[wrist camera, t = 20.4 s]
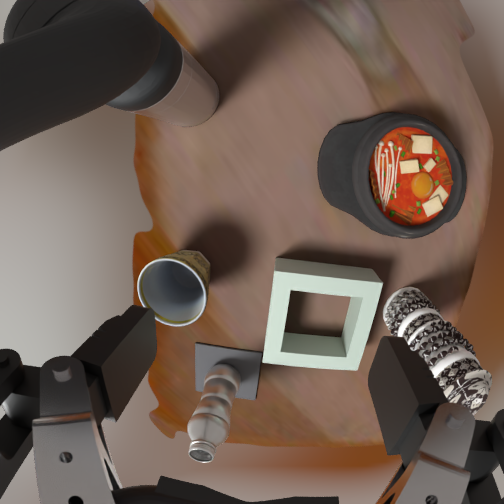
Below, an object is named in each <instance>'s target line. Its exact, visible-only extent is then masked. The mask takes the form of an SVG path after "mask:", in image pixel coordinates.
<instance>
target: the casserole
mask: <svg viewBox="0 0 504 504" xmlns="http://www.w3.org/2000/svg"><path fill="white" fill-rule="evenodd" d="M318 180H319V185H320V189H321V191H322V193H323V196H324V198H325V199H326V200H327V201H328V202H329V203H330V205H332V206H334V207H336V208H338V209H340V210H342V211H345V212H347V213H349V214H351V215H353V216H354V217H355V218H357V219H358V220H359V221H361V222H362V223H363V224H365V225H366V226H367V227H369V228H370V229H371V230H374V231H376V232H378V233H380V234H383V235H388V236H394V237H399V238H418V237H423V236H425V235H428V234H430V233H432V232H434V231H435V230H437V229H438V228H439V227H441V226H442V225H443V224H444V223H447V222H450V221H451V220H452V219H453V218H454V217H456V215H457V213H458V212H459V210H460V208H461V206H462V203H463V200H464V196H465V191H466V169H465V164H464V161H463V158H462V156H461V154H460V153H459V151H458V150H457V149H456V148H454V146H453V144H452V143H451V141H450V140H449V139H448V137H447V136H446V135H445V133H444V132H443V131H442V130H441V129H440V128H439V127H437V126H436V125H435V124H434V123H432V122H430V121H429V120H427V119H425V118H422V117H420V116H417V115H412V114H404V113H395V112H390V113H382V114H379V115H376V116H373V117H370V118H367V119H365V120H362V121H357V122H351V123H345V124H340V125H337V126H335V127H334V128H333V129H331V130H330V131H329V132H328V134H327V135H326V137H325V138H324V141H323V143H322V146H321V148H320V152H319V157H318Z"/></svg>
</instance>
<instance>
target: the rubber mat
mask: <svg viewBox="0 0 504 504" xmlns="http://www.w3.org/2000/svg"><path fill="white" fill-rule="evenodd" d="M261 356H262V352H256V351H249V350H241V349H234V348H228V347H221V346H215V345H209V344H203V343H197V342H196V343H195V371H196V391H200V392H203V389H204V380H205V376H206V374H207V372H208V371H209V370H210V368H212V367H213V366H215V365H218V364H228V365H231V366H233V367H234V368H235V369H236V370H237V371H238V372H239V374H240V378H241V385H240V388H239V390H238V392H237V394H236V396H235V397H236V398H243V399H250V400H255V398H256V391H257V384H258V377H259V370H260V363H261Z"/></svg>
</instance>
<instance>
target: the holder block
mask: <svg viewBox="0 0 504 504" xmlns="http://www.w3.org/2000/svg"><path fill="white" fill-rule="evenodd" d="M382 285H383V282H382V281H381V280H380V278H379V277H378V276H377V274H376V273H375V272H374V270H373V269H370V268H361V267H352V266H344V265H335V264H327V263H318V262H310V261H302V260H293V259H285V258H276V261H275V269H274V277H273V285H272V293H271V300H270V308H269V316H268V323H267V330H266V338H265V345H264V353H263V361H262V363H269V364H278V365H288V366H298V367H310V368H323V369H339V370H357V369H358V366H359V363H360V360H361V358H362V354H363V351H364V348H365V345H366V342H367V339H368V336H369V332H370V329H371V326H372V322H373V319H374V315H375V312H376V308H377V304H378V301H379V297H380V293H381V289H382ZM291 290H294V291H303V292H312V293H322V294H331V295H341V296H351V300H350V304H349V308H348V312H347V316H346V320H345V324H344V328H343V332H342V336H341V337H329V336H317V335H306V334H297V333H287V332H284V328H285V322H286V316H287V310H288V303H289V297H290V291H291Z"/></svg>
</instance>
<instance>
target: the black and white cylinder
mask: <svg viewBox="0 0 504 504" xmlns="http://www.w3.org/2000/svg"><path fill="white" fill-rule="evenodd" d="M383 318H384V321H385V324H386V325H387V326H388V330H391V329H392V330H391V333H390V334H391V335H394V336H395V337H404V338H405V340H406V341H407V343H408V345H409V346H410V348H411V350H412V351H416V352H417V353H418V354H419V355H420V356H422V357H423V358H424V359H425V361H426V363H427V364H428V366H429V368H430V370H431V371H432V373H433V375H434V378H436V380H437V381H438V383H439V385H440V387H441V389H442V390H443V392H444V394H445V396H446V398H447V399H448V401H449V402H452V403H458V404H461V405H463V406H465V407H466V408H467V409H469V410H470V411H471V413H472V414H473V415H474V414H475V413H476V412H477V411H478V410H480V409H481V407H482V406H483V404H484V403H485V402H486V399H487V397H488V394H489V390H490V387H491V384H492V377H491V374H490V373H489V372H488V371H486V370H483V369H482V367H481V366H480V363H479V361H478V360H477V359H476V357H475V355H476V354H475V352H474V351H473V345H471V344H468V340H467V339H463V335H462V334H461V333H460V332H459V331H456V328H455V327H453V326H452V325H451V323H450V322H448V321H444V320H443V318H442V316H441V315H440V311H439V310H438V309H436V306H435V305H432V302H431V300H429V299H428V297H427V296H425V295H424V294H423V292H421V291H420V290H419V289H418V288H414V287H405V288H401V289H399V290H397V291H396V292H394V293H393V294H392V295H391V296H390V297H389V298H388V299H387V301H386V303H385V306H384V308H383ZM464 346H465V348H464Z"/></svg>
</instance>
